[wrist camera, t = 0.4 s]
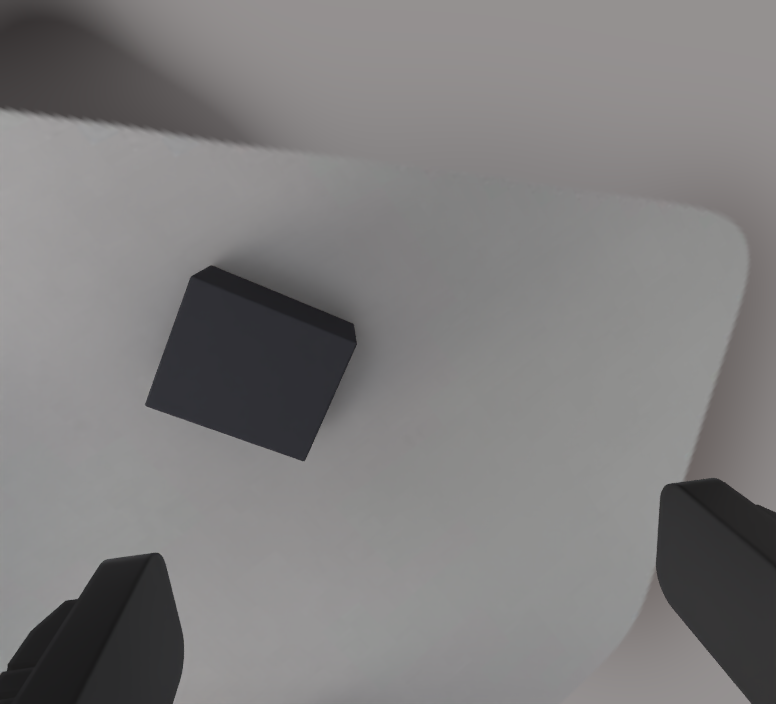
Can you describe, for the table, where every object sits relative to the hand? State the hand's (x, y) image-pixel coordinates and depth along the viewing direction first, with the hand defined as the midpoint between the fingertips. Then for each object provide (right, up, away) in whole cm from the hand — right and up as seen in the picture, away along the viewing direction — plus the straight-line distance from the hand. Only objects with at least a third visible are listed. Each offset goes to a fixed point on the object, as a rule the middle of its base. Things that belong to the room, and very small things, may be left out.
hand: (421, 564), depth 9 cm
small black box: (-6, +3, +13) cm, 15 cm away
